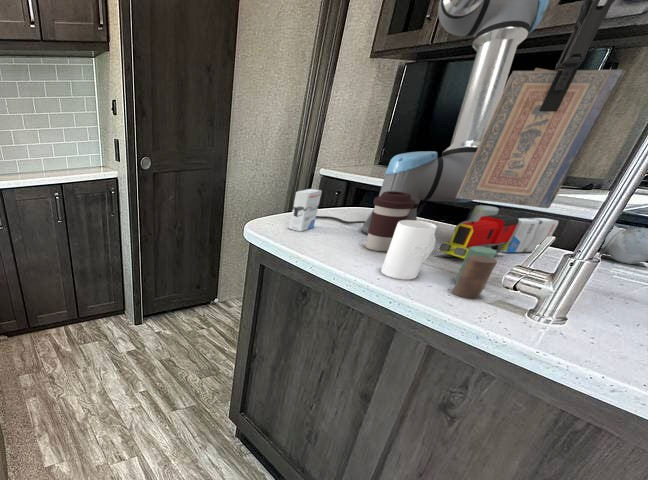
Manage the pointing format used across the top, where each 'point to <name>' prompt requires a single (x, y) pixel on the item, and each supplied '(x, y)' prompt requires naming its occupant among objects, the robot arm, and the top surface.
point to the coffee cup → (387, 218)
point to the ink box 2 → (530, 234)
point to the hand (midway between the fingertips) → (546, 110)
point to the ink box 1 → (305, 209)
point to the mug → (409, 249)
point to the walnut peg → (474, 276)
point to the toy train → (481, 235)
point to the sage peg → (476, 251)
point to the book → (536, 137)
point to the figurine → (626, 245)
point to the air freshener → (481, 213)
